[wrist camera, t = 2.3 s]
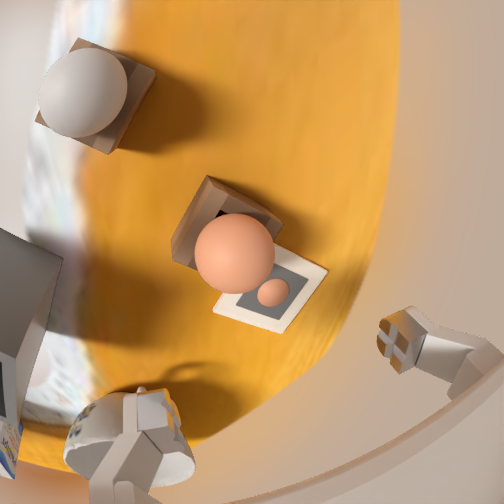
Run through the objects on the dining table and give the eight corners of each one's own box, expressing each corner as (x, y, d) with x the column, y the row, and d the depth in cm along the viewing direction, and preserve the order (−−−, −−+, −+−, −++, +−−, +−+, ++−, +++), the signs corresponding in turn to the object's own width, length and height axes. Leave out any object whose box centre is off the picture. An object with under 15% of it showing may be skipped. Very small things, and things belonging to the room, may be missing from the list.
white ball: (82, 46, 11) (56, 27, 7) (147, 74, 13) (140, 60, 9) (44, 117, 12) (8, 122, 8) (107, 146, 14) (88, 158, 10)
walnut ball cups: (90, 47, 13) (78, 37, 10) (298, 160, 20) (319, 169, 17) (31, 175, 15) (12, 187, 13) (232, 266, 22) (242, 288, 20)
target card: (259, 235, 22) (261, 238, 21) (325, 269, 25) (329, 272, 24) (212, 308, 24) (213, 313, 23) (280, 331, 27) (282, 335, 26)
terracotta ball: (214, 190, 17) (229, 216, 13) (274, 222, 19) (303, 254, 15) (178, 253, 18) (183, 293, 14) (238, 278, 20) (257, 319, 16)
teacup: (166, 440, 31) (174, 494, 24) (68, 420, 26) (63, 478, 19) (211, 368, 27) (230, 439, 20) (78, 334, 21) (63, 412, 14)
